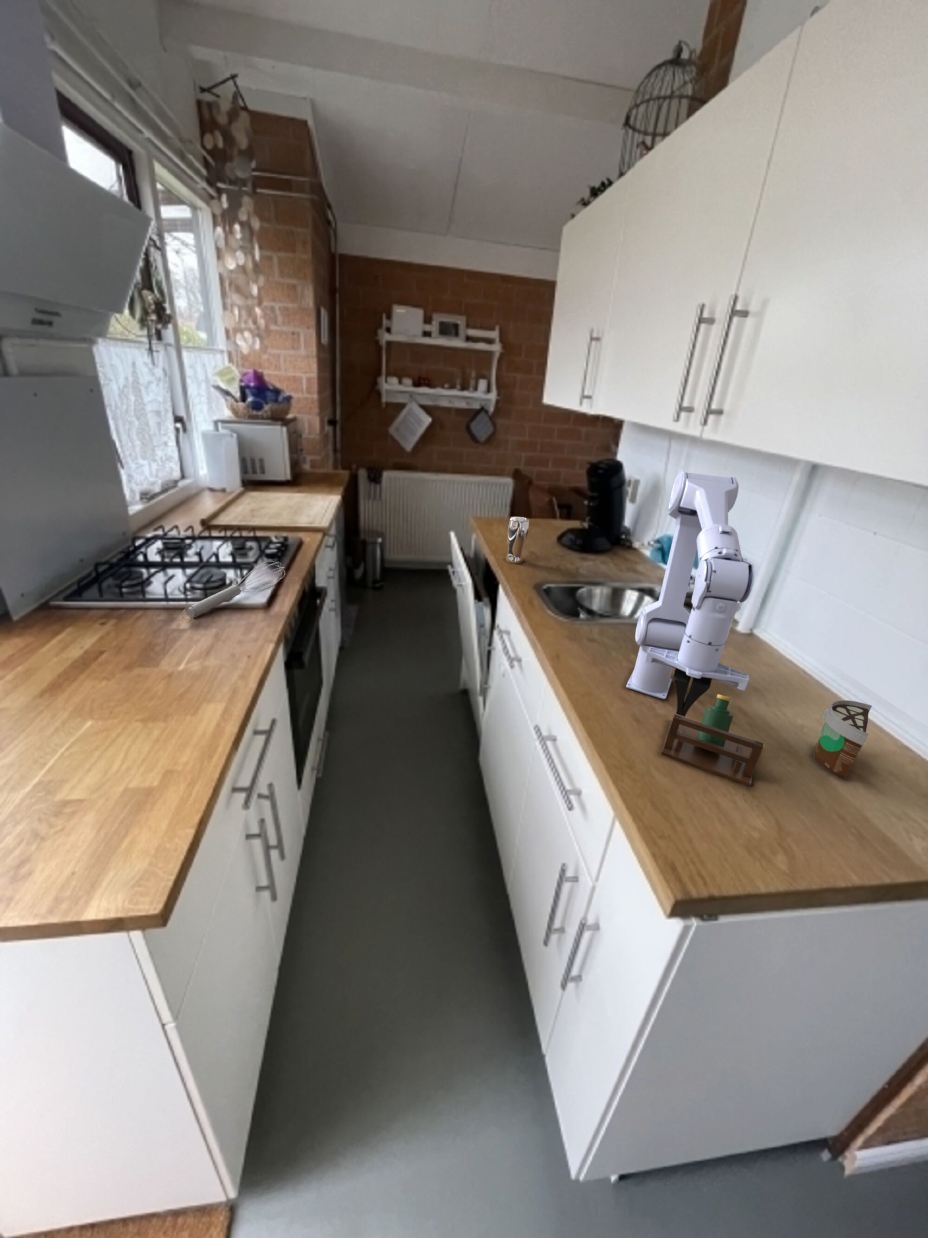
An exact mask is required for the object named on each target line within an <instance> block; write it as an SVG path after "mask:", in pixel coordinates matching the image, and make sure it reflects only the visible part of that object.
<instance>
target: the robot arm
mask: <svg viewBox="0 0 928 1238" xmlns="http://www.w3.org/2000/svg"><path fill="white" fill-rule="evenodd" d="M739 487H740V485H739V482H738V479H737V478H736V477H735V476H722V475H721V476H720V475H711V474H703V473H693V472H687V471H685V470H684V471H683V470H681V471H680V472H679V473H678V474H677V475H676V477H675V479H674V482H673V485H672V489H671V492H670V493H671V494H670V497H669V503H668V508H667V509H668V512H667V515H668V516H670V517H672V518H673V519H675V521H674V522H675V523H674V524H675V526H674V533H673V537H672V540H671V546H670V550H669V555H668V558H667V564H666V568H665V572H664V575H663V580H662V585H661V590H660V594H659V598H658V600H657V601H655V602H653V603H650V604H648V605H646V606H644V607H643V608H642V610H641V611H640V616H639V618H638V620H637V623H636V627H635V635H634V638H635V642H636V645H637V646H639V649H638V653H637V658H636V661H635V665H634V668H633V671H632V673H631V675H630V677H629V679H628V680H627V683H626V685H625V687H626V688H627V689H629V690H633V691H636V692H639V693H642V694H645V695H648V696H651V697H655V698H658V699H661V700H666V699H667V696H668V694H669V690H670V687H671V684H672V681H673V683H674V688H675V693H676V711H675V714H676V715H679V716H682V717H684V718H686V716H687V713H688V711H689V710H690V708H691V707H692V706H693V705H694V703H696V701H698V699H699V698H701V696H702V695H704V694H705V693H707V692H708V691H709V689H710V688H711V686H712V681H716V682H719V683H723V684H726V685H729V686H733V687H736V689H737V690H739V691H743V692H746V689H747V686H748V684H749V681H750V674H748V673H745V672H742V671H739V670H738V669H735V668H732V667H730V666H727V665H725V664H723V663H720V661H721V657H722V655H723V651H724V649H725V646H726V643H727V640H728V636H729V634H730V630H731V629H732V625H733V622H734V620H735V616H736V613H737V610H738V607H739V603H744V602H746V601H747V600H748V598H749V597H750V595H751V592H752V591H753V586H754V582H755V569H754V568H755V567H754V564H753V562H752V561H748V558H747V557H746V558H745V557H743V554H742V550H741V544H740V540H739V535H738V532H737V530H736V529H735V528H734V527H732V526H731V525H729V513H730V512H731V510H732V509H733V508H734V507H735V504H736V502H737V498H738V495H739ZM696 556H697V557H698V567H697V569H696V573H695V579H694V587H693V593H692V596H691V600H690V601H691V604H692V607H691V611H690V612H689V611H688V610H687V609H686V608H685V607H684V604H685V601H686V596H687V593H688V589H689V585H690V581H691V575H692V572H693V568H694V564H695V559H696ZM738 602H739V603H738ZM673 670H674V672H673ZM672 672H673V675H672ZM671 676H672V678H671ZM691 678H692V680H691ZM690 682H691V684H690ZM689 686H690V687H689ZM688 690H689V691H688ZM687 692H688V693H687Z"/></svg>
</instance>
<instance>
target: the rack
mask: <svg viewBox="0 0 928 1238" xmlns="http://www.w3.org/2000/svg"><path fill="white" fill-rule="evenodd" d="M699 731H701V732H704V733H707V734H710V735H713V736H716V737H719V738H722V739H725V740H726V742H725V745H724V747H722V746H719V745H716V744H713V743H710V742H707V741H704V740H701V739H698V738H697V736H698V732H699ZM763 749H764V742H761V741H758V740H754V739H751V738H748V737H745V736H742V735H739V734H736V733H732V732H730V731H729V732H727V731H724V730H721V729H718V728H715V727H711V726H708V725H705V724H702V722H699V721H696V720H693V719H690V718H688V717H687V718H686V717H684V716H681V715H678V714H676V713H674V714H673V717H672V720H671V719H670V721H669V724H668V728H667V732H666V734H665V738H664V741H663V745H662V749H661V752H660V755H661V756H665V757H667V758H668V757H669V758H670V759H673V760H676V761H679V762H681V763H684V764H686V765H690V766H692V767H695V768H698V769H701V770H703V771H706V772H709V773H712V774H715V775H717V776H720V777H723V778H726V779H729V780H730V781H734V782H737V783H740V784H743V785H745V786H747V787H751V786H752V783H753V773H754V771H755V768H756V767H757V764H758V761H759V759H760V757H761V754H762V752H763Z"/></svg>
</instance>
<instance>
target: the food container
mask: <svg viewBox="0 0 928 1238" xmlns="http://www.w3.org/2000/svg"><path fill="white" fill-rule="evenodd" d="M872 707H873V705H871V704H868V703H864V702H861V701H856V700H848V699H842V700H841V699H840V700H836V701H834V702H832V703H831V704H829V705H828V706H827V708H826V709H825V710H824V711H823V713H822V718H823V720H824V723H823V725H822V729H821V732H820V735H819V738H818V740H817V743H816V746H815V749H814V752H813V757H814V759H815V761H816V762H817V764H819V766H821V767H822V768H823V769H824V770H826V772H828V773H830V774H832V775H833V776H835V777H837V778H839V779H840V780H841V779H842V780H845V779H846V778H847V776H848V774H849V773H850V770H851V769H852V766H853V764H854V763H855V761H856V759H857V757H858V755H859V753H860V752H861V749H862V748H863V746H864V745H865V743H866V741H867V738H868V736H869V733H868V732H867V728H868V723H869V715H870V711H871V709H872Z"/></svg>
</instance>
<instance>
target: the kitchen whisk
mask: <svg viewBox="0 0 928 1238" xmlns="http://www.w3.org/2000/svg"><path fill="white" fill-rule="evenodd" d="M272 562H273V563H272ZM265 563H268V565H266V564H265ZM269 563H270V560H268V561H264V562H262V563H260V564H259V565H257V566H256V567H254V568H253V569H252V570H250V572H249V573H247V574H246V575H245V576H244V577H243V578H242V579H241V580H240V581H239V582H238V583H237V584H233V585H231V586H229V587H227V588H224V589H223V590H220V591H219V592H217V593H214V594H213V595H211V596H208V597H205V599H204V598H203V600H200V601H198V602H196V603H194V604H192V605H190V606H187V607H186V608H185V610H183V611H182V612H181V616H180V617H181V618H182V620H186V621H189V620H190V619H191V620H193V619H194V618H195V617H198V616H200V615H202V614H204V613H206V612H208V611H210V610H212V609H214V608H216V607H218V606H219V605H221V604H224V603H226V602H227V601H229V600H232V599H234V598H235V597H237V596H239V595H241V593H242V592H243V593H247V592H250V590H251V592H254V591H256V589H257V588H258V589H257V591H260V590H264V589H267V588H270V587H272V586H274V585H275V584H277V583H278V582H279V581H280V580H281V579H283V578H284V577H285V575H286V571H285V570H283V569H285V566H282V563H281V562H279V561H273V560H271V563H270V564H269ZM263 564H264V565H263ZM274 565H275V567H278V568H274V569H272V570H269V571H267V572H265V573H263V574H260V575H259V576H257V577H254V576H255V575H257V574H258V573H260V572H261V571H264V569H266V568H269V567H270V566H274ZM262 567H263V568H262ZM259 568H262V569H260V570H259V571H257V570H258V569H259ZM275 570H277V571H275ZM254 571H257V572H256V573H255V574H253V575H252V576H250V577H248V576H249V575H251V574H252V573H253V572H254ZM273 571H274V572H273ZM282 571H283V572H282ZM270 572H273V573H271V574H269V575H267V576H265V577H263V578H260V577H261V576H264V575H265V574H268V573H270ZM279 573H280V578H278V579H277V580H275V581H273V582H271V581H272V580H273V578H271V579H269V580H268V581H266V582H264V583H261V584H260V585H257V586H254V587H250V588H247V589H244V588H245V587H248V586H250V585H253V584H254V583H257V582H260V581H261V580H263V579H266V578H268V577H271V576H272V575H275V576H274V578H276V577H277V576H278V574H279ZM283 573H284V574H283ZM282 575H283V576H282ZM247 577H248V579H246V580H245V578H247ZM253 577H254V578H253ZM251 578H253V579H251ZM257 578H260V579H258V580H256V579H257ZM250 579H251V580H250ZM244 580H245V581H244ZM254 580H256V581H254ZM242 581H243V582H242ZM252 581H254V582H252ZM241 582H242V583H241ZM251 582H252V583H251ZM269 582H270V583H269ZM248 583H249V584H248ZM268 585H269V586H268ZM264 586H266V587H264ZM261 587H263V588H261ZM241 589H243V590H241ZM253 589H254V590H253ZM184 612H185V613H186V615H187V616H188V617H189V618H184V616H183V613H184Z"/></svg>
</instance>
